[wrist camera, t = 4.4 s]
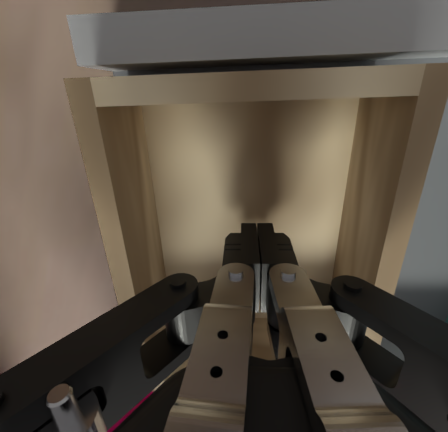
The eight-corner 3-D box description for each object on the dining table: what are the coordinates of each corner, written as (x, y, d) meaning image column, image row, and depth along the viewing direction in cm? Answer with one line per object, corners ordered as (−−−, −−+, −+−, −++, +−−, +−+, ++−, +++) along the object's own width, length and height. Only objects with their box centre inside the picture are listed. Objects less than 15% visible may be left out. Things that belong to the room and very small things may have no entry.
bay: (163, 326, 20) (134, 413, 15) (115, 36, 13) (24, -4, 7) (450, 331, 19) (535, 428, 14) (578, 13, 12) (877, -56, 6)
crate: (164, 316, 18) (139, 390, 14) (126, 83, 13) (63, 78, 8) (333, 319, 18) (366, 398, 13) (375, 73, 12) (457, 62, 7)
